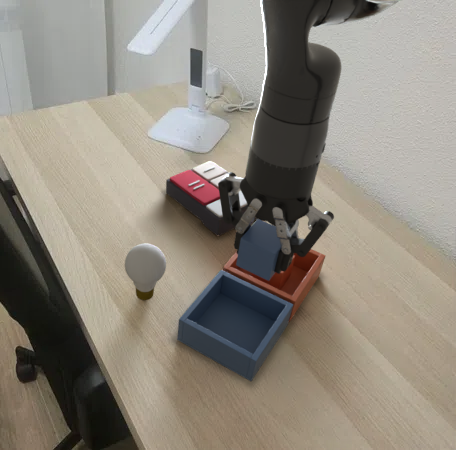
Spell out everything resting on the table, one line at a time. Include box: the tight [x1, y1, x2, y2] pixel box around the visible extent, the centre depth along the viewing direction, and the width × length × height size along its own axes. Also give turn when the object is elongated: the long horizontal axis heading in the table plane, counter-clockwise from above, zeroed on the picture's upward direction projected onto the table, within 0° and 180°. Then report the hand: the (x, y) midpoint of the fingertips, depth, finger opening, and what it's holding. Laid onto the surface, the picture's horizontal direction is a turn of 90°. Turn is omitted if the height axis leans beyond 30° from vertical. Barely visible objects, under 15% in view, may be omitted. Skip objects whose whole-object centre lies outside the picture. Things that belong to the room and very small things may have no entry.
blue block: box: [236, 218, 281, 281], centre depth 68 cm, size 5×5×5 cm
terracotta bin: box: [222, 248, 327, 323], centre depth 85 cm, size 12×12×4 cm
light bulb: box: [124, 242, 167, 301], centre depth 80 cm, size 6×6×10 cm
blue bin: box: [176, 269, 293, 382], centre depth 77 cm, size 12×12×4 cm
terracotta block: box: [251, 255, 295, 290], centre depth 84 cm, size 5×5×5 cm
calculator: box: [165, 160, 249, 237], centre depth 99 cm, size 11×4×15 cm
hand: (261, 259), depth 69 cm, fingers closed on blue block, 4 cm apart
